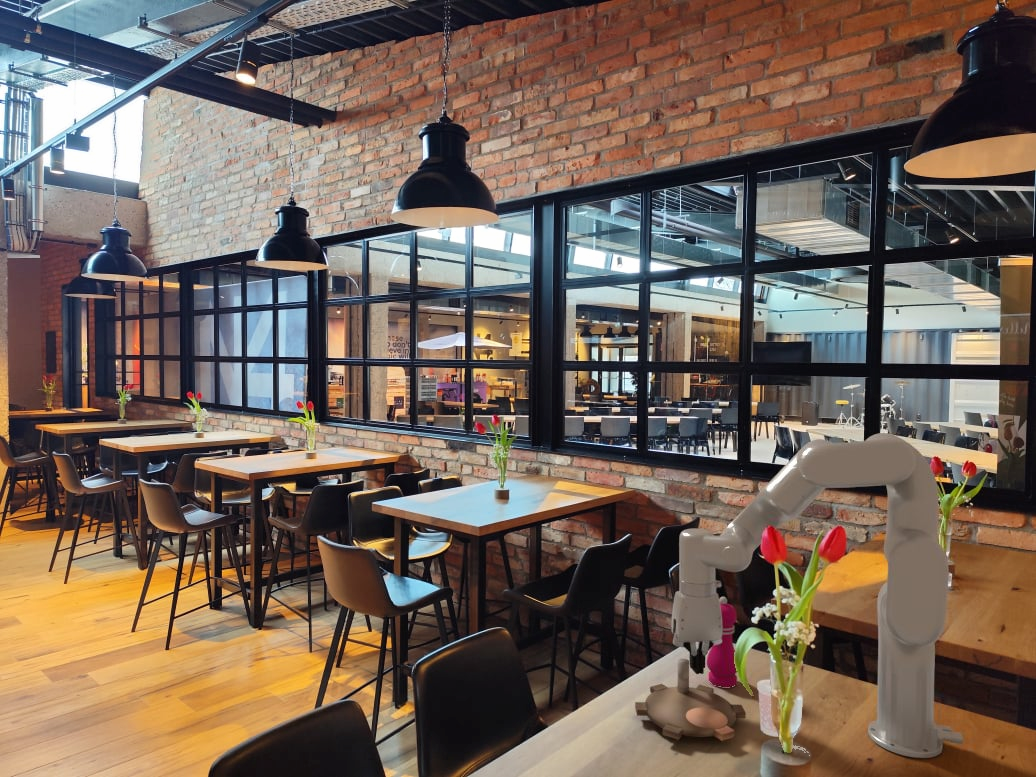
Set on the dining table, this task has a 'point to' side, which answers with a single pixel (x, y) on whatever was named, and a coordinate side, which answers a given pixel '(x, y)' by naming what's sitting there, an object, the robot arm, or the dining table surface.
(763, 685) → the beverage cup
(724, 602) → the pepper mill
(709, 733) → the sprocket
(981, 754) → the dining table surface
